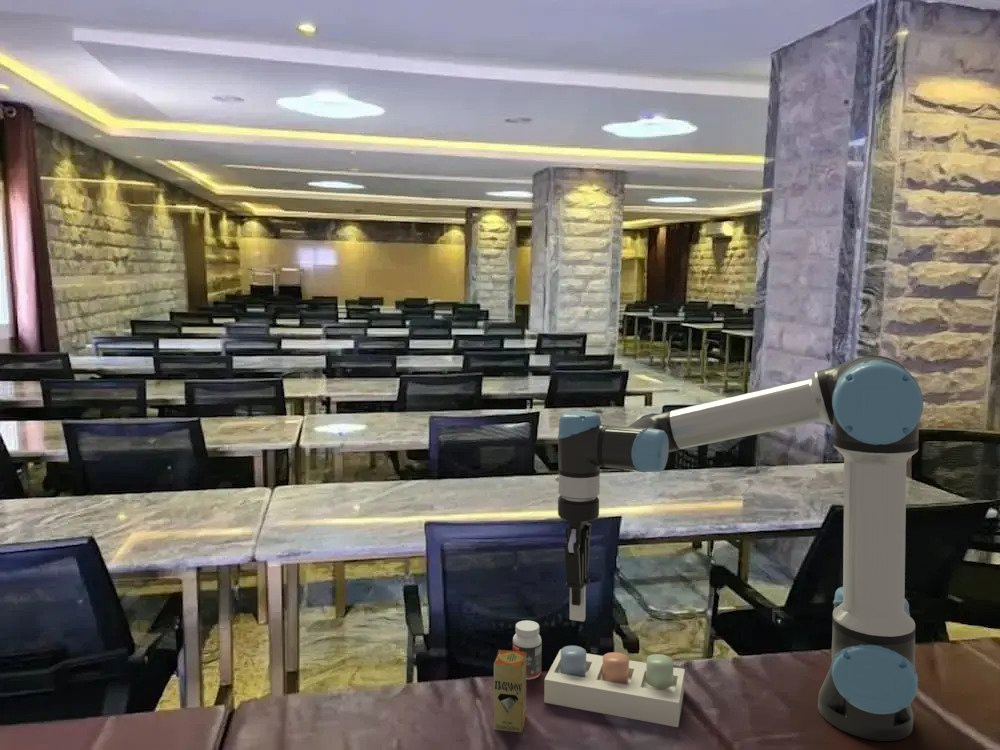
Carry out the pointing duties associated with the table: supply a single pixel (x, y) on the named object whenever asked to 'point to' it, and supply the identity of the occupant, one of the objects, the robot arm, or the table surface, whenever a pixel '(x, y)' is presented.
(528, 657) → the pill bottle
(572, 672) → the button slateblue
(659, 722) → the panel
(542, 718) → the table surface
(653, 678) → the button sage
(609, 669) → the button terracotta
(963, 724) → the table surface
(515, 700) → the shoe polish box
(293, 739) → the table surface
